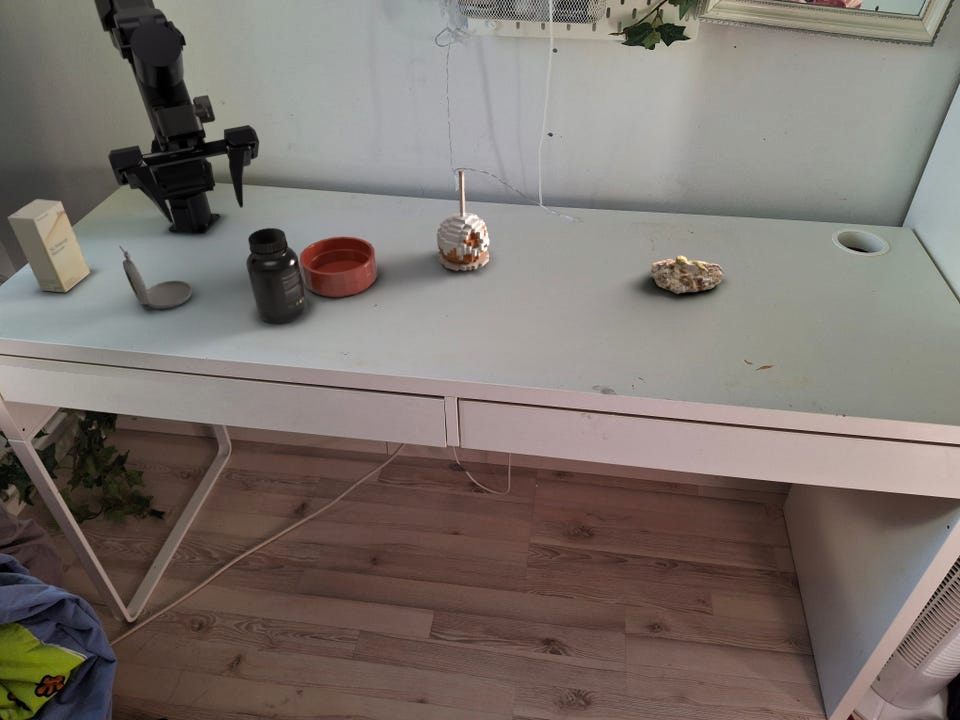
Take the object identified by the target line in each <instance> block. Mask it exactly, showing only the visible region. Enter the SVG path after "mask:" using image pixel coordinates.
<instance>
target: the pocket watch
mask: <svg viewBox="0 0 960 720" xmlns="http://www.w3.org/2000/svg"><path fill="white" fill-rule="evenodd" d="M118 247H119V249H121V251H122V253H123V256H124V258H125V259H124V260H123V261H122V267H123V270H124V273H125V275H126V279H127V281H128V283H129V285H130V287H131V289H132V292H133V293H134V295H135V297H136V299H137V300H138V302H139V303H140V305H147V306H148V307H149V308H153V309H157V310H158V309H159V310H160V309H162V310H164V309H171V308H174V307H177V306H180V305H182V304H183V303H185V302H187V301H188V300H189V299H190V298H191V296H192V293H193V289H192V286H191V285H190V284H189V283H188V282H186V281H184V280H167V281H163V282H160V283H157V284H154V285H153V286H151V287H150V288H148V289H147V286H146V284H145V282H144V279H143V276H142V275H141V273H140V271H139V269H138V268H137V265H136V264H135V262H133V260H132V259H131V254H130V253H129V252H128V250H125V249H124V248H123V247H122V246H121V245H119V246H118Z"/></svg>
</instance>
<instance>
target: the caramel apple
mask: <svg viewBox="0 0 960 720" xmlns="http://www.w3.org/2000/svg"><path fill="white" fill-rule="evenodd" d="M458 190H459V191H458V197H459V211H458V212H457V213H455V212H453V213H452V214H451V215H449V216H448V217H447V218H445V220H443V221H442V222H441V223H440V224H439V225H440V227H439V228H438V229H437V233H436V240H437V241H436V242H437V243H436V244H437V248H438V250H439V251H438V255H437V259H438V260H439V262H440V265H444V268H446V269H449V270H453V271H457V272H458V271H459V270H461V271H464V272H466V271H467V270H468V271H471V270H472V269H473V270H477V269H478V268H479V267H481V268H483V267H484V266H485V265H486V264H487V263H488V262H489V261H490V252H489V251H488V246H489V245H490V237H489V231H487V225H486V224H485V220H483V219H481V218H480V217H479V216H477V214H474V213H471V212H467V211H466V200H465V199H466V198H465V196H466V195H465V194H466V193H465V170H464V169H461V168H460V169H459V170H458Z"/></svg>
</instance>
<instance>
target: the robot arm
mask: <svg viewBox="0 0 960 720" xmlns="http://www.w3.org/2000/svg"><path fill="white" fill-rule="evenodd" d="M93 1H94V5H95V8H96V12H97V15H98V18H99V22H100V26H101V28H102V30H103V32H104V33H108V35H109V38H110V40H111V43H112V46H113V47H114V48H115V49H116V50H117V51H118V53H119V55H120V57H121V58H122V59H123V60H127V62H128V64H129V65H130V68H131V70H132V71H131V72H132V74H133V77H134V79H135V82H136V86H137V88H138V91H139V94H140V98H141V100H142V103H143V106H144V108H145V111H146V114H147V117H148V121H149V123H150V126H151V129H152V131H153V135H154V137H153V140H151V145H150V146H151V147H150V153H148V152H147V153H144V154H143V153H142V151H141V148H140V145H132V146H127V147H122V148H117V149H112V150H110V151H109V154H108V155H107V157H108V161H109V164H110V166H111V169H112V172H113V175H114V177H115V180H116V182H117V186H129V188H130V189H131V190H140V191H141V192H142V193H143V194H144V195H145V196H146V197H147V198H148V199H149V200H150V201H151V202H152V203H153V204H154V205H155V206H156V208H157V209H158V210H159V212H160V213H161V214H162V215H163V217H164V218H165V220H167V222H168V223H170V224H171V225H170V226H169V227H168V231H169V232H171V233H188V234H197V235H204V234H206V233H207V232H208V231H209V230H210V228H212V227H213V226H214V225H215V223H216V222H217V221H219V219H220V218H221V215H220V213H213V212H212V210H211V207H210V203H209V200H208V196H207V193H206V192H213V191H215V189H214V188H215V187H216V182H215V178H214V172H213V171H214V170H213V165H212V162H210V161H208V159H207V158H212V157H217V156H218V157H219V156H224V155H226V156H227V159H228V169H229V173H230V177H231V180H232V181H231V183H232V186H233V190H234V195H235V199H236V202H237V204H238V207H239V208H240V209H242V208H243V207H244V189H243V187H244V186H243V177H244V169H245V167H249V166H250V165H251V164H252V160H255V159H257V158H258V157H259V150H260V149H259V148H260V140H259V137H258V134H257V132H256V129H255V128H254V127H252V126H251V125H250V124H246V125H241V126H236V127H229V128H225V129H223V138H222V139H217V140H212V141H207V142H206V140H205V139H206V138H207V133H206V131H205V128H204V125H203V124H208V123H213V122H215V121H216V115H215V112H214V108H213V105H212V103H211V100H210V98H209V94H208V95H207V94H206V95H200V96H194V97H193V99H192V100H191V97H190V92H189V90H188V88H187V85H186V83H185V79H184V76H185V70H184V69H185V67H184V60H183V59H184V58H183V51H184V46H187V41H186V38H185V35H184V34H183V33H182V32H181V30H180V29H179V28H177V27H176V26H175V24H174V22H173V21H172V20H168V18H167V16H166V14H165V13H164V12H163V11H162V10H161V9H159V8H156V6H155V4H154V0H93ZM166 201H168V204H169V206H168V204H167V202H166ZM169 207H170V208H169Z"/></svg>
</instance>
